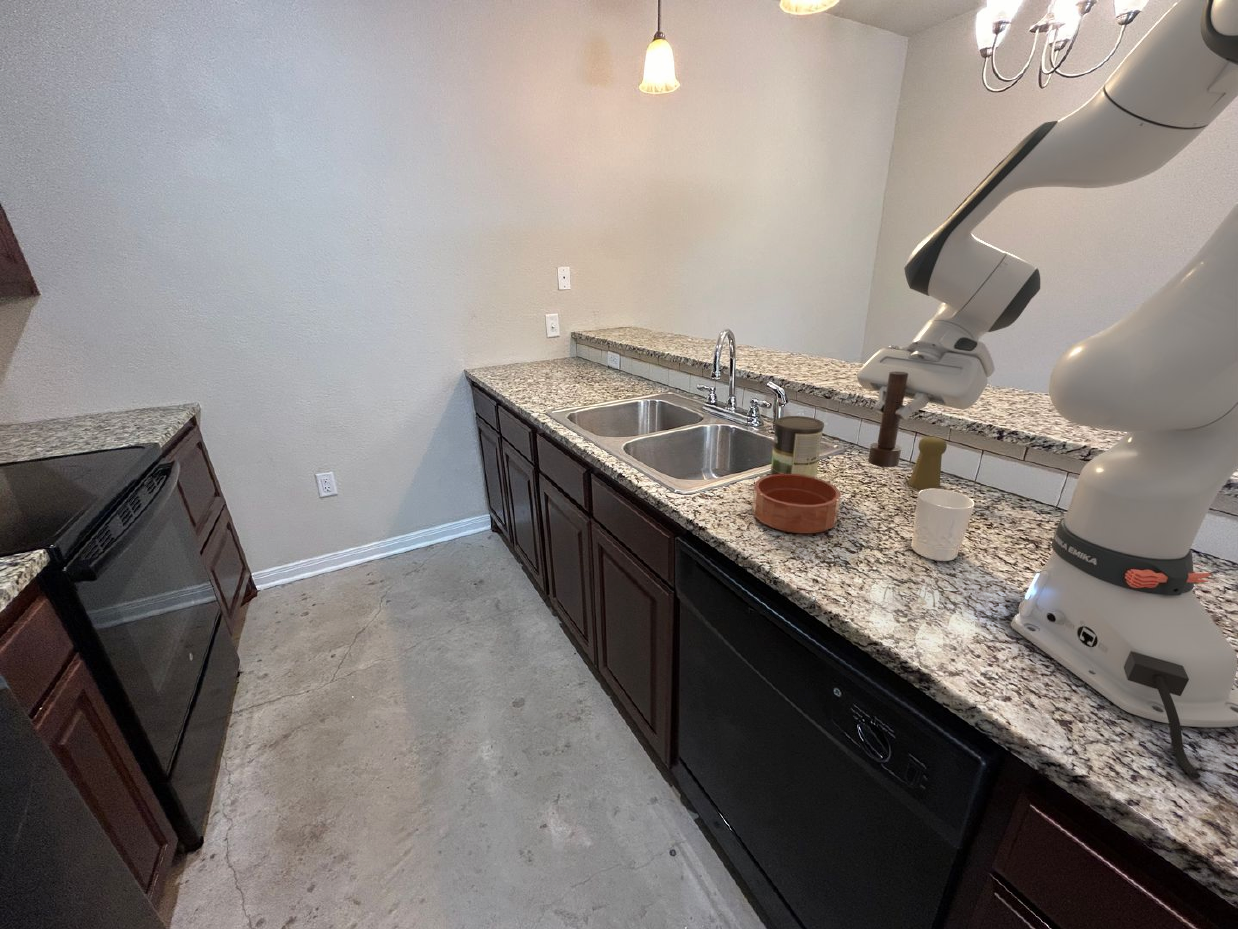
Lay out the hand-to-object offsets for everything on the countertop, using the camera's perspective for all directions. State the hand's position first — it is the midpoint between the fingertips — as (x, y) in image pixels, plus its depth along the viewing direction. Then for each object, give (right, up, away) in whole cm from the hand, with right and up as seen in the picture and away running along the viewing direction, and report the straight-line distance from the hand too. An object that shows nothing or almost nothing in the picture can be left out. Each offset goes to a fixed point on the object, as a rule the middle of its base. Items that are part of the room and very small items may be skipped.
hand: (889, 414), depth 85 cm
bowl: (-12, -19, +13) cm, 26 cm away
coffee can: (-6, -13, +30) cm, 33 cm away
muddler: (+1, -8, +3) cm, 9 cm away
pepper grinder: (+22, -13, +26) cm, 36 cm away
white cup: (+8, -24, 0) cm, 25 cm away
